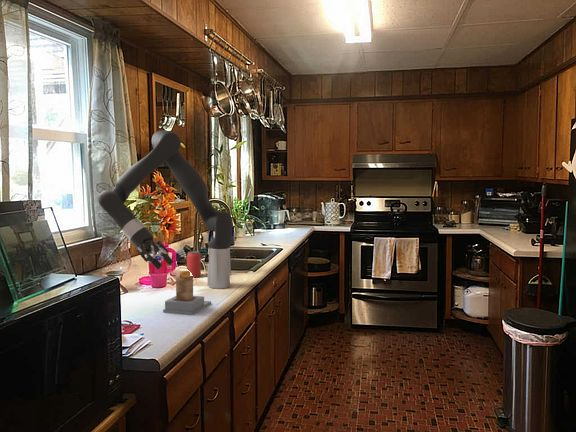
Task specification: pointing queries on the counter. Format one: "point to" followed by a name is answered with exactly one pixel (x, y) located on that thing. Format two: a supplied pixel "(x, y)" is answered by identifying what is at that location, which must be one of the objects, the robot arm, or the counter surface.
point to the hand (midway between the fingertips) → (166, 265)
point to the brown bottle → (184, 287)
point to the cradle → (185, 305)
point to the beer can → (194, 263)
